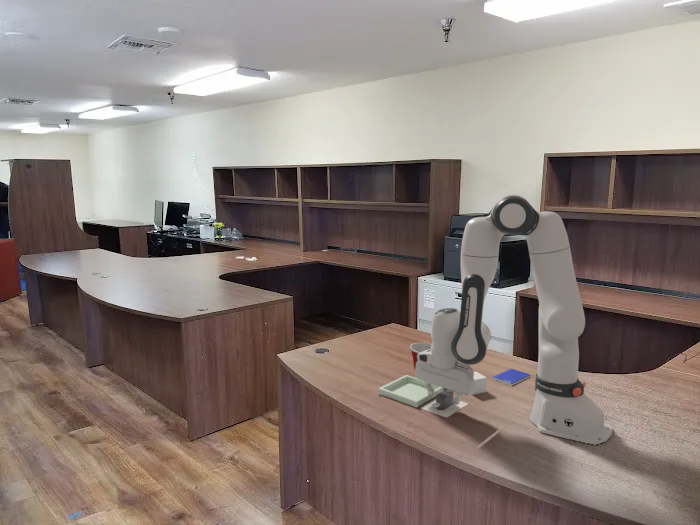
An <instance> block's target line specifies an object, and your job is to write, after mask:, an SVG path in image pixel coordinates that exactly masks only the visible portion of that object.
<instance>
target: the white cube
mask: <svg viewBox="0 0 700 525" xmlns="http://www.w3.org/2000/svg"><path fill="white" fill-rule="evenodd" d="M473 378H474V391H473V392H472V393H471V394H470V395H471V396H474V395H480V394H483V393H484V394H485V393H487V380H488V377H486V376H485V375H484V374H481V373H479V372H478V371H474V377H473Z"/></svg>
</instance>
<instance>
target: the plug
mask: <svg viewBox="0 0 700 525" xmlns="http://www.w3.org/2000/svg"><path fill="white" fill-rule="evenodd" d="M453 398H454V391H452V390H448V389H444V391H443V392H441V393H439V394H438V395H436V397H435V399H436V402H435V403H433V406H434V407H436V409H438V410H445V409H446V408H448V407H450V406H451V405H453Z"/></svg>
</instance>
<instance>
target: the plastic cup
mask: <svg viewBox="0 0 700 525" xmlns="http://www.w3.org/2000/svg"><path fill="white" fill-rule="evenodd" d="M431 345H432V343H429V342H414V343H411V344H410V345H409V349H410V350H411V351H410V352H411V355H412V361H413V362H412V363H413V368H414V370H415V367H416V362H417V361H418V359H417V354H419V353H421V352H423V351H425V350H428V349H431Z"/></svg>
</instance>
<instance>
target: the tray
mask: <svg viewBox="0 0 700 525" xmlns="http://www.w3.org/2000/svg"><path fill="white" fill-rule="evenodd" d="M431 386H432V389H434V395H433V396H430V395H428V390H427V388H426V386H425V382H424V381H421V380H418V379H417V378H416V376H411V375H408V374H405V375H403V376H401V377H399V378H397V379H395V380H393V381H390V382H389V383H387V384H384V385H382V386H380V387H378V389H377V390H378V392H377V394H378V396H380V397H382V396H384V397H387V398H389V399H392V400H395V401H398V402H401V403H403V404H405V405H408V406H411V407H413V408H416V409H417V408H418V407H420V406H423V405H425V403H426V404H427V403H428V402H430V401H432V400H433V399H434V398H436V395H438V394H439V393H441V392H443V391H445V388H442V387H439V386H436V385H433V384H431Z"/></svg>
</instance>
